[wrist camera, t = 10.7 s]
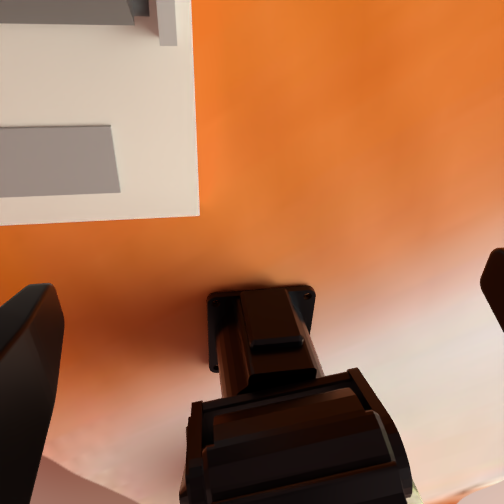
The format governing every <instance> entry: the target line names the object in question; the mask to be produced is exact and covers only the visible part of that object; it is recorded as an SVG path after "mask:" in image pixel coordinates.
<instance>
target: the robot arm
mask: <svg viewBox="0 0 504 504" xmlns="http://www.w3.org/2000/svg"><path fill="white" fill-rule="evenodd" d="M480 286H481V289H482V292H483V294H484V295H485V297H486V299H487V301H488V303H489V305H490V307H491V309H492V311H493V313H494V315H495V317H496V319H497V320H498V322H499V324H500V326H501V328H502V330H503V332H504V248H496V249H494V250H493V251H492V252H491V254H490V256H489V258H488V261H487V263H486V266H485V268H484V271H483V273H482V276H481V279H480ZM307 293H309V294H308V295H306V296H305V294H307ZM315 297H316V294H315V291H314V289H313V288H312V287H311V286H298V287H285V288H271V289H258V290H245V291H232V292H219V293H212V294H210V295H209V296H208V297H207V320H208V349H209V368H210V371H212V372H214V373H219V375H220V384H221V392H222V398H221V399H216V400H211V401H207V402H203V401H198V402H193V403H192V408H191V417H189V418H188V426H187V427H186V437H187V451H186V464H185V469H184V473H183V478H182V482H181V487H180V491H179V500H180V504H407V500H406V498H410V497H411V495H412V489H413V485H412V476H411V471H410V466H409V462H408V458H407V455H406V451H405V448H404V445H403V442H402V440H401V437H400V435H399V432H398V430H397V428H396V426H395V424H394V422H393V420H392V419H391V417H390V415H389V414H388V412H387V411H386V409H385V408H384V406H383V405H382V403H381V402H380V400H379V399H378V397H377V396H376V394H375V393H374V391H373V390H372V388H371V387H370V385H369V384H368V382H367V381H366V379H365V378H364V376H363V375H362V373H361V372H360V370H359V369H358V368H352V369H348V370H347V372H342V373H338V374H333V375H328V376H325V375H324V373H323V370H322V367H321V364H320V362H319V359H318V356H317V354H316V351H315V348H314V345H313V343H312V340H311V337H310V330H311V324H312V317H313V310H314V304H315ZM216 300H217V301H218V302H216V303H214V302H213V301H216ZM63 335H64V316H63V312H62V309H61V306H60V302H59V299H58V296H57V292H56V289H55V287H54V286H53V285H52V284H51V283H42V284H30V285H28V286H26V287H25V288H23V289H22V290H21V291H20V292H18V293H17V294H16V295H15V296H13V297H12V298H11V299H10V300H8V301H7V302H6V303H4V304H3V305H2V306H1V307H0V504H30V500H31V496H32V492H33V488H34V484H35V480H36V476H37V472H38V468H39V464H40V460H41V456H42V452H43V448H44V444H45V440H46V436H47V432H48V428H49V424H50V420H51V416H52V412H53V408H54V403H55V398H56V391H57V384H58V376H59V368H60V359H61V351H62V343H63ZM216 365H217V366H216Z"/></svg>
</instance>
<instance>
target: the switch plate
mask: <svg viewBox="0 0 504 504" xmlns="http://www.w3.org/2000/svg"><path fill="white" fill-rule="evenodd" d="M149 11H150V17H145V16H134V23H135V25H70V24H3V23H0V226H3V225H23V224H43V223H63V222H84V221H104V220H124V219H144V218H164V217H185V216H200V210H199V186H198V161H197V137H196V112H195V88H194V64H193V39H192V15H191V0H149Z"/></svg>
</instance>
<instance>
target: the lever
mask: <svg viewBox="0 0 504 504" xmlns="http://www.w3.org/2000/svg"><path fill="white" fill-rule="evenodd" d="M134 16H145V17H150V11H149V0H0V23H3V24H70V25H135V23H134Z"/></svg>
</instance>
